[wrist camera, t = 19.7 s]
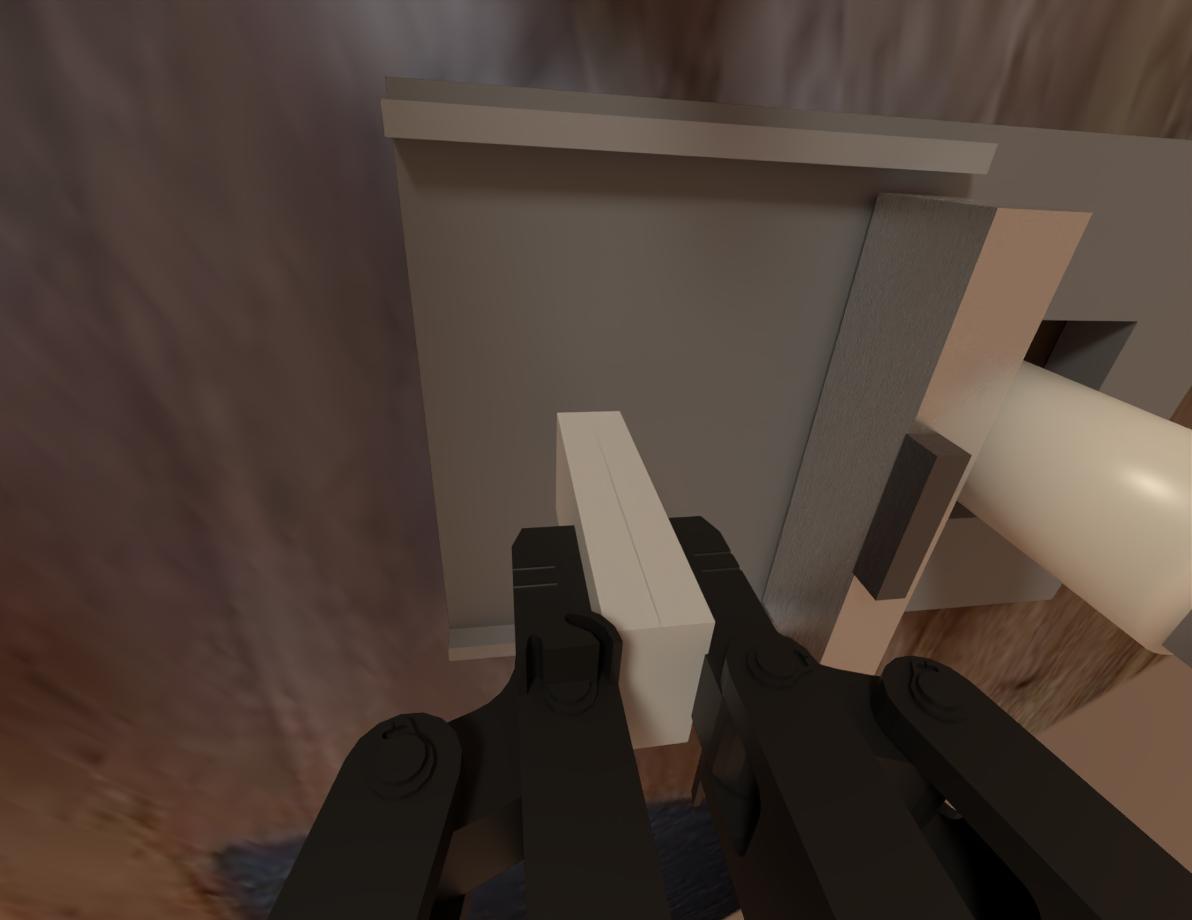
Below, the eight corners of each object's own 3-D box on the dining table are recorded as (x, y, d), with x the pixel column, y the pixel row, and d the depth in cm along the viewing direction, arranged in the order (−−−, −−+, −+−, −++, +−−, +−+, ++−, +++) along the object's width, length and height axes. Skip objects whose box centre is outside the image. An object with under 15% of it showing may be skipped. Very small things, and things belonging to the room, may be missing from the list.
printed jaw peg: (861, 457, 19) (1145, 704, 11) (903, 338, 17) (1300, 531, 9) (968, 454, 20) (1312, 683, 12) (1021, 339, 18) (1495, 518, 9)
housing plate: (456, 607, 20) (450, 669, 18) (401, 85, 12) (376, 71, 10) (1012, 566, 24) (1069, 614, 21) (1252, 151, 16) (1386, 152, 13)
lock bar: (759, 601, 19) (825, 717, 15) (875, 192, 12) (1041, 214, 9) (814, 597, 19) (892, 709, 15) (954, 196, 13) (1149, 219, 9)
